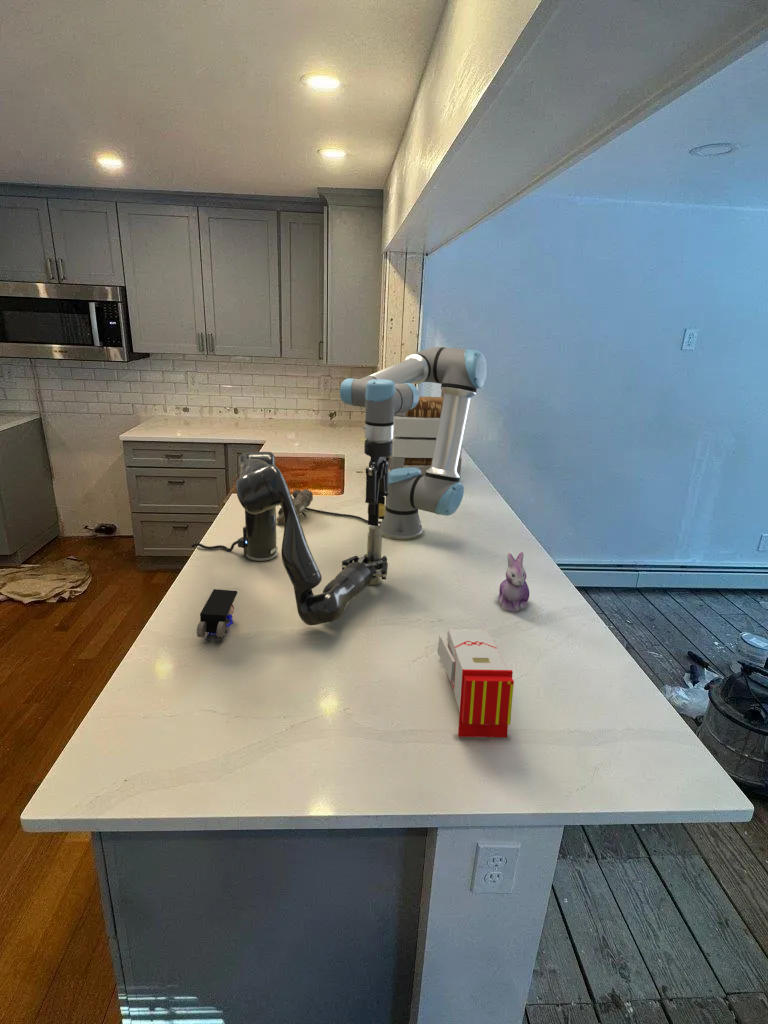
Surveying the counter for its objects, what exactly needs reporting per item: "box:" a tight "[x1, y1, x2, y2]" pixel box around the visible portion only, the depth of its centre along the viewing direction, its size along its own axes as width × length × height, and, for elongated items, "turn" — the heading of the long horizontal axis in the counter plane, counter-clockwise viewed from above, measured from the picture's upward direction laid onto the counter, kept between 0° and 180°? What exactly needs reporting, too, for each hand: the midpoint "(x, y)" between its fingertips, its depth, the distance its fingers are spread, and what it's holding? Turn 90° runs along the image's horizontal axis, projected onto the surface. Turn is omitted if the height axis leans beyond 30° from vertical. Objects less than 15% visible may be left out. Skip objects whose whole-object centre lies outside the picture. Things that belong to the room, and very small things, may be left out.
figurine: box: [497, 551, 530, 612], centre depth 152 cm, size 9×10×15 cm
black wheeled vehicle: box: [196, 588, 238, 643], centre depth 135 cm, size 7×8×15 cm
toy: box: [437, 628, 515, 738], centre depth 117 cm, size 12×13×30 cm
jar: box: [366, 524, 383, 586], centre depth 161 cm, size 4×4×17 cm
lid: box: [367, 503, 386, 517], centre depth 157 cm, size 5×5×2 cm
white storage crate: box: [387, 390, 464, 483], centre depth 268 cm, size 34×33×41 cm
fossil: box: [276, 488, 314, 526], centre depth 210 cm, size 22×10×15 cm
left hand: (377, 557), depth 164 cm, fingers closed on jar, 4 cm apart
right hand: (376, 521), depth 158 cm, fingers closed on lid, 5 cm apart
